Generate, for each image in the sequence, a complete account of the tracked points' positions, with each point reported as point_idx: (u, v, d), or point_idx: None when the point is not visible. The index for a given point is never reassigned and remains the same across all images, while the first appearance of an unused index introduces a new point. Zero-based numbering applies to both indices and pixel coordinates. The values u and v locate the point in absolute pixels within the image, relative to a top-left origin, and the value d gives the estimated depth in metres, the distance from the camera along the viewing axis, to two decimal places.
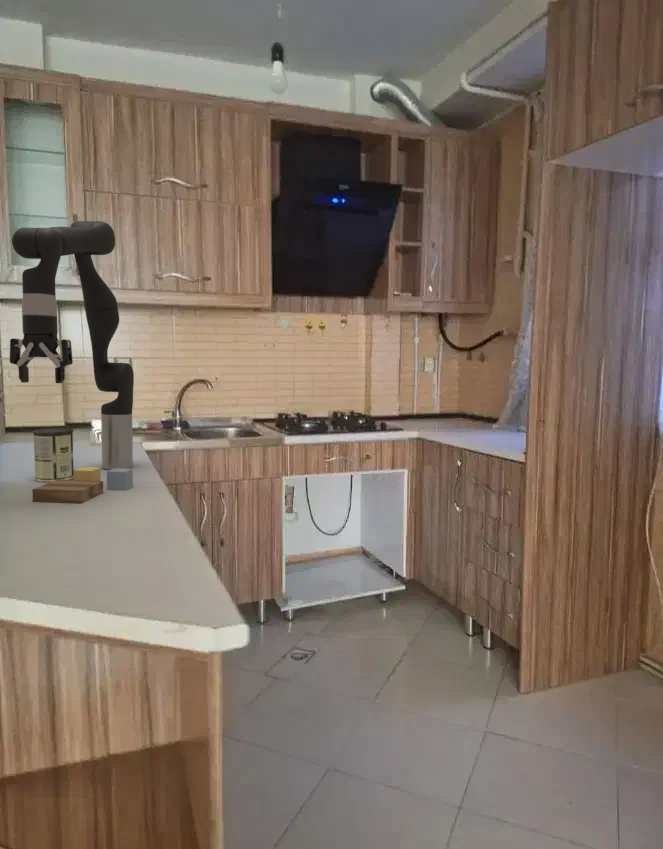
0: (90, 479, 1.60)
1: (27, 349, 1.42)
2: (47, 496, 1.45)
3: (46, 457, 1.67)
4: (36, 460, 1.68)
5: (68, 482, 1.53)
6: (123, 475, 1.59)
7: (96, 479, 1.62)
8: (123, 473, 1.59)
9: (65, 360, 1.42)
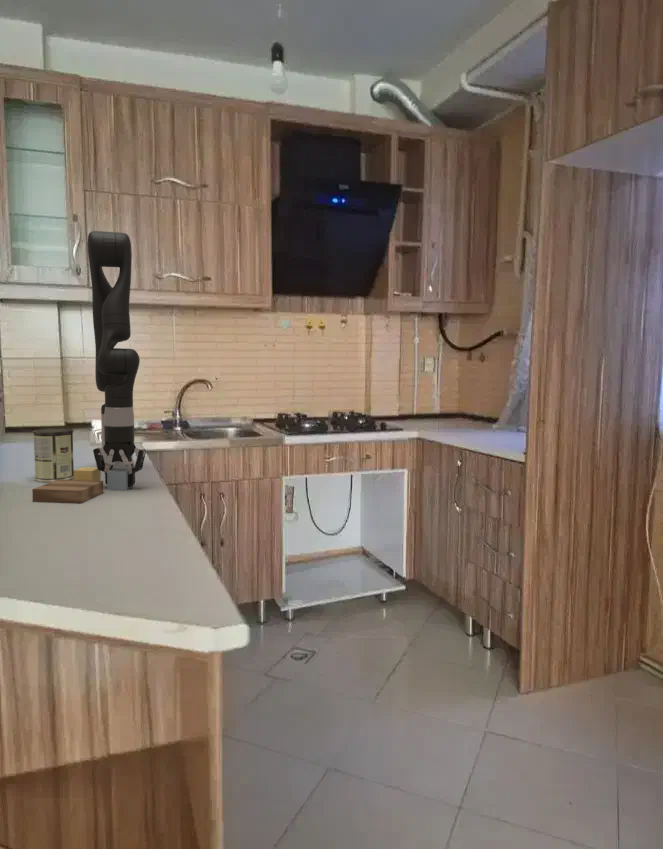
0: (90, 479, 1.60)
1: (109, 456, 1.60)
2: (47, 496, 1.45)
3: (46, 457, 1.67)
4: (36, 460, 1.68)
5: (68, 482, 1.53)
6: (123, 475, 1.59)
7: (96, 479, 1.62)
8: (123, 473, 1.59)
9: (136, 467, 1.60)
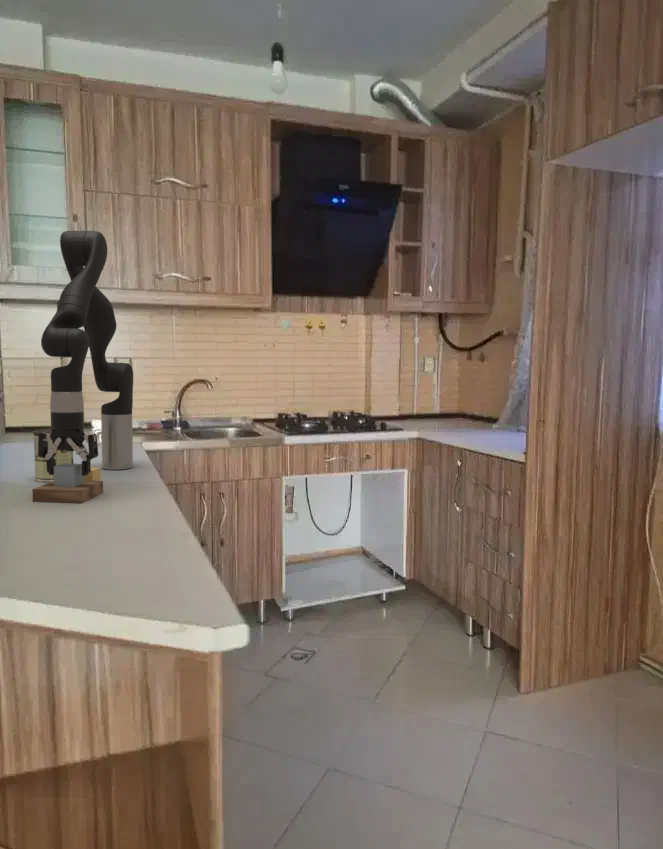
0: (90, 479, 1.60)
1: (55, 444, 1.48)
2: (47, 496, 1.45)
3: None
4: (36, 460, 1.68)
5: None
6: (71, 470, 1.47)
7: (96, 479, 1.62)
8: (71, 468, 1.47)
9: (91, 454, 1.48)
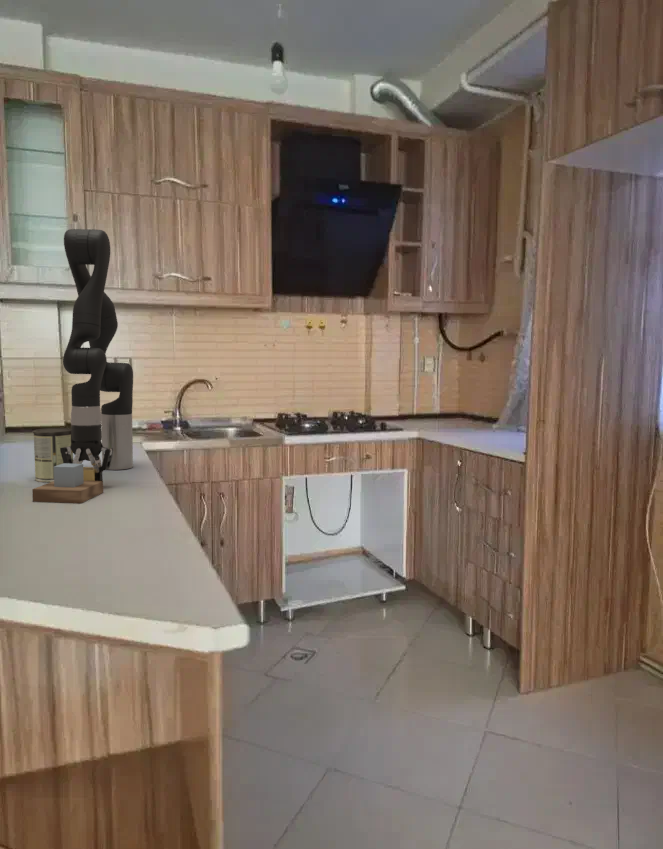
0: (90, 479, 1.60)
1: (76, 455, 1.60)
2: (47, 496, 1.45)
3: (46, 457, 1.67)
4: (36, 460, 1.68)
5: None
6: (71, 470, 1.47)
7: None
8: (71, 468, 1.47)
9: (103, 466, 1.60)
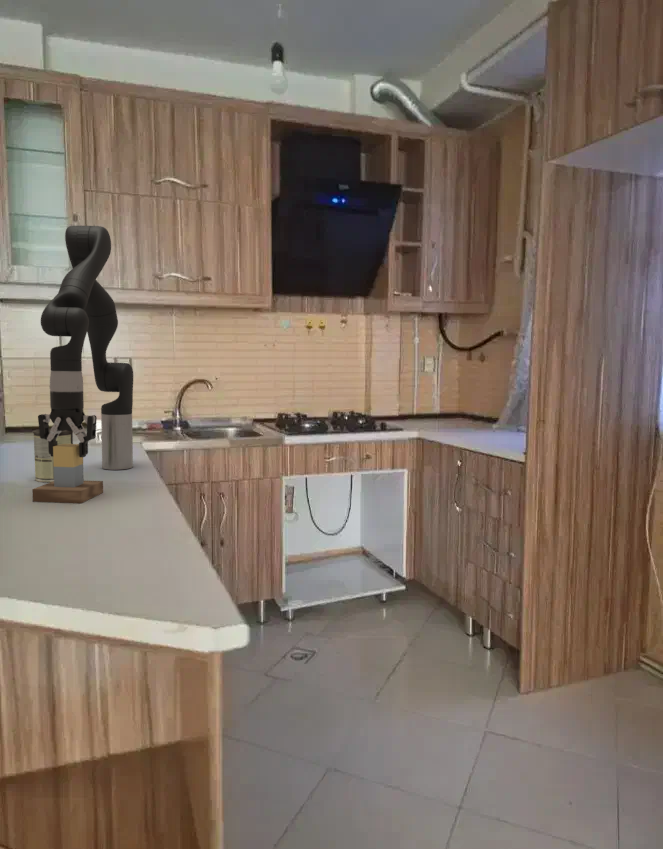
0: (71, 456, 1.47)
1: (55, 424, 1.47)
2: (47, 496, 1.45)
3: (46, 457, 1.67)
4: (36, 460, 1.68)
5: None
6: (71, 470, 1.47)
7: (78, 456, 1.49)
8: (71, 468, 1.47)
9: (89, 435, 1.47)
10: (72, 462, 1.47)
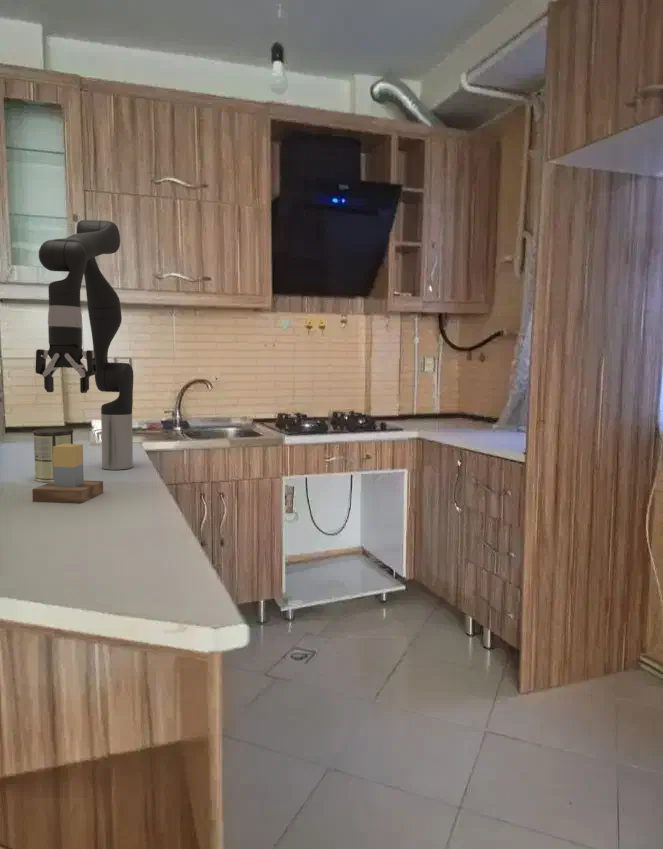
0: (71, 456, 1.47)
1: (53, 360, 1.46)
2: (47, 496, 1.45)
3: (46, 457, 1.67)
4: (36, 460, 1.68)
5: None
6: (71, 470, 1.47)
7: (78, 456, 1.49)
8: (71, 468, 1.47)
9: (90, 370, 1.46)
10: (72, 462, 1.47)
